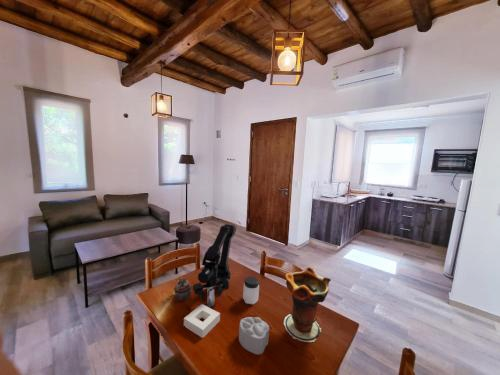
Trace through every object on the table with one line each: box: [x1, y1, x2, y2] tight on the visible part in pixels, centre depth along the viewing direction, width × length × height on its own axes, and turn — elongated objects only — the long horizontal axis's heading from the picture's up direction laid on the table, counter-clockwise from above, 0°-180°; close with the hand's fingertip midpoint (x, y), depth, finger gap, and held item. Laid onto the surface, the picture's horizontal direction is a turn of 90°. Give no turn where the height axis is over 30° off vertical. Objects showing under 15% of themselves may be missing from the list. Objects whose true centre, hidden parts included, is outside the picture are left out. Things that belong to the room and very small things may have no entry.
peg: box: [206, 286, 216, 308], centre depth 111 cm, size 4×4×9 cm
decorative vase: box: [283, 266, 332, 343], centre depth 99 cm, size 21×23×28 cm
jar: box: [242, 275, 260, 305], centre depth 117 cm, size 9×8×12 cm
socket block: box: [183, 303, 221, 339], centre depth 98 cm, size 12×12×4 cm
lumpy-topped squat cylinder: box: [238, 316, 270, 355], centre depth 90 cm, size 10×13×9 cm
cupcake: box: [173, 278, 193, 302], centre depth 116 cm, size 10×10×10 cm
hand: (210, 299), depth 111 cm, fingers open, 9 cm apart
